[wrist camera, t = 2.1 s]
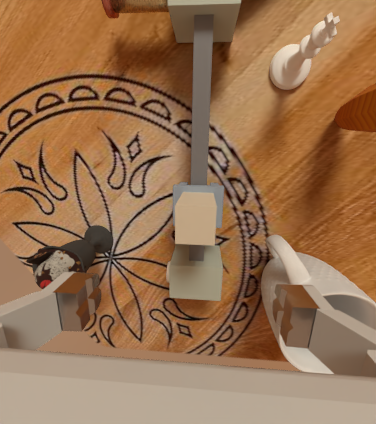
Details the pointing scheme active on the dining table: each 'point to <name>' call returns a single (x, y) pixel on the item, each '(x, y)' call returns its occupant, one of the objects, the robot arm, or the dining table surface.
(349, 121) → the carrot
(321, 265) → the mug
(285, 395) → the robot arm
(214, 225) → the carriage
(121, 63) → the dining table surface
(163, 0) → the cylinder
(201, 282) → the guide rail
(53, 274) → the sundae
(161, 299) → the dining table surface
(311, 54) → the chess piece
